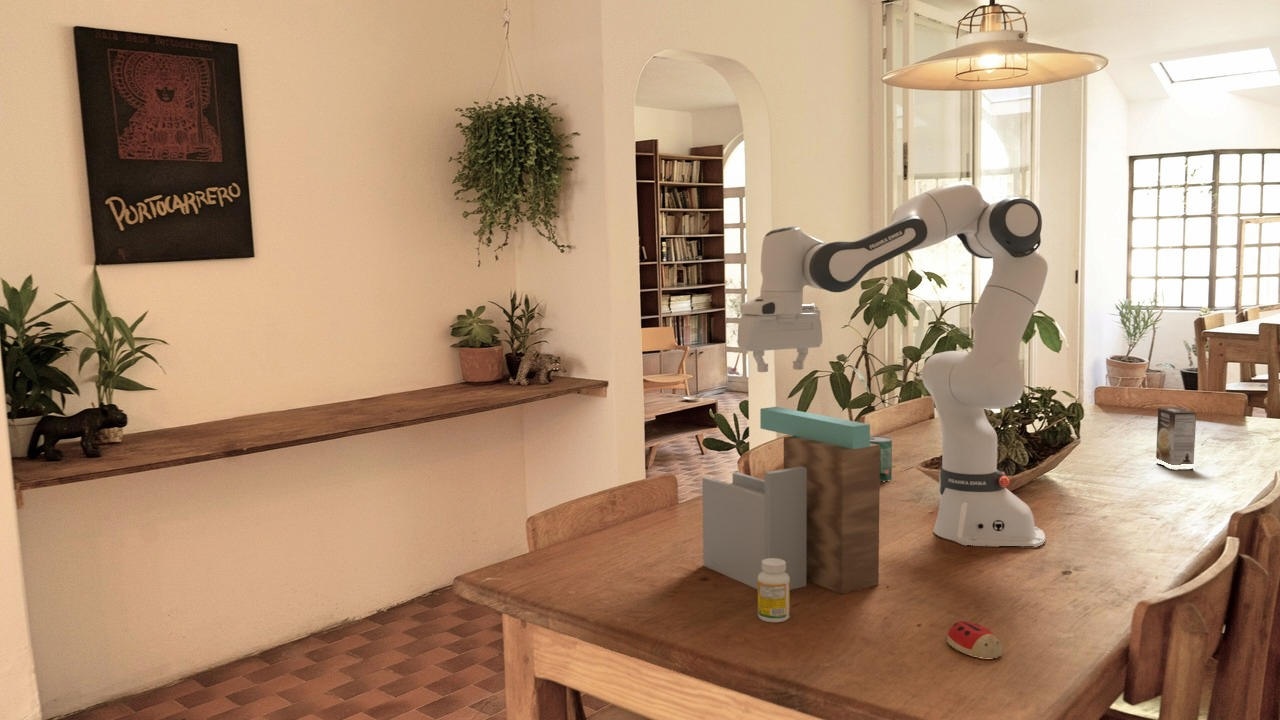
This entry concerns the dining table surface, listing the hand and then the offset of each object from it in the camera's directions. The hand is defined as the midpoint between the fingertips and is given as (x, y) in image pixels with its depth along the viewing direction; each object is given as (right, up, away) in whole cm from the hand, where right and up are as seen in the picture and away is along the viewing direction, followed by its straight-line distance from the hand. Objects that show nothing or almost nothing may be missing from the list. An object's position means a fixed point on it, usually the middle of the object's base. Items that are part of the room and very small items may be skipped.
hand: (780, 370), depth 209 cm
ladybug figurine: (+21, -42, -57) cm, 74 cm away
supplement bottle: (-7, -41, -43) cm, 60 cm away
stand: (+6, -39, -23) cm, 45 cm away
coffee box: (+118, -28, +65) cm, 138 cm away
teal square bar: (+3, -12, -22) cm, 25 cm away
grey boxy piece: (-8, -39, -21) cm, 45 cm away
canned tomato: (+34, -30, +57) cm, 72 cm away
